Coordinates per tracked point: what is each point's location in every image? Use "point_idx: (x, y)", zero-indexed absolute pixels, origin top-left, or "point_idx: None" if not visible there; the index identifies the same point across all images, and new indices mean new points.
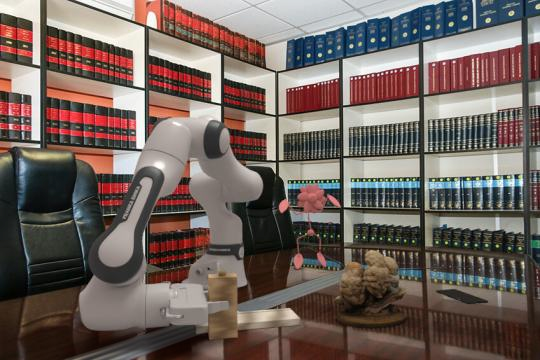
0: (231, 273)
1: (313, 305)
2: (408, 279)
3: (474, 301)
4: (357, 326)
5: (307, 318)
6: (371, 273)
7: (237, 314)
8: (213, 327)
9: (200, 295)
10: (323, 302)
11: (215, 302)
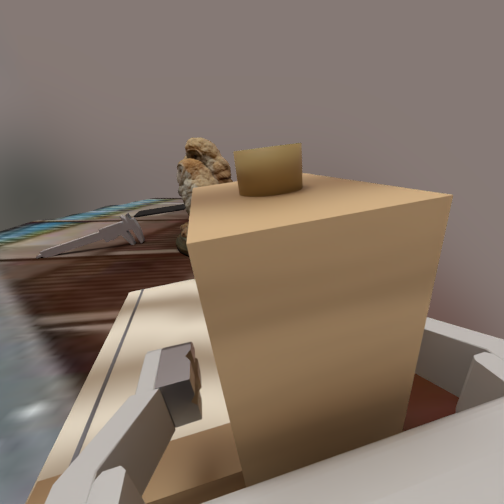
0: (201, 189)
1: (101, 280)
2: (70, 226)
3: (183, 206)
4: None
5: (177, 281)
6: (225, 166)
7: (105, 412)
8: None
9: (502, 482)
10: (95, 271)
11: (467, 332)
